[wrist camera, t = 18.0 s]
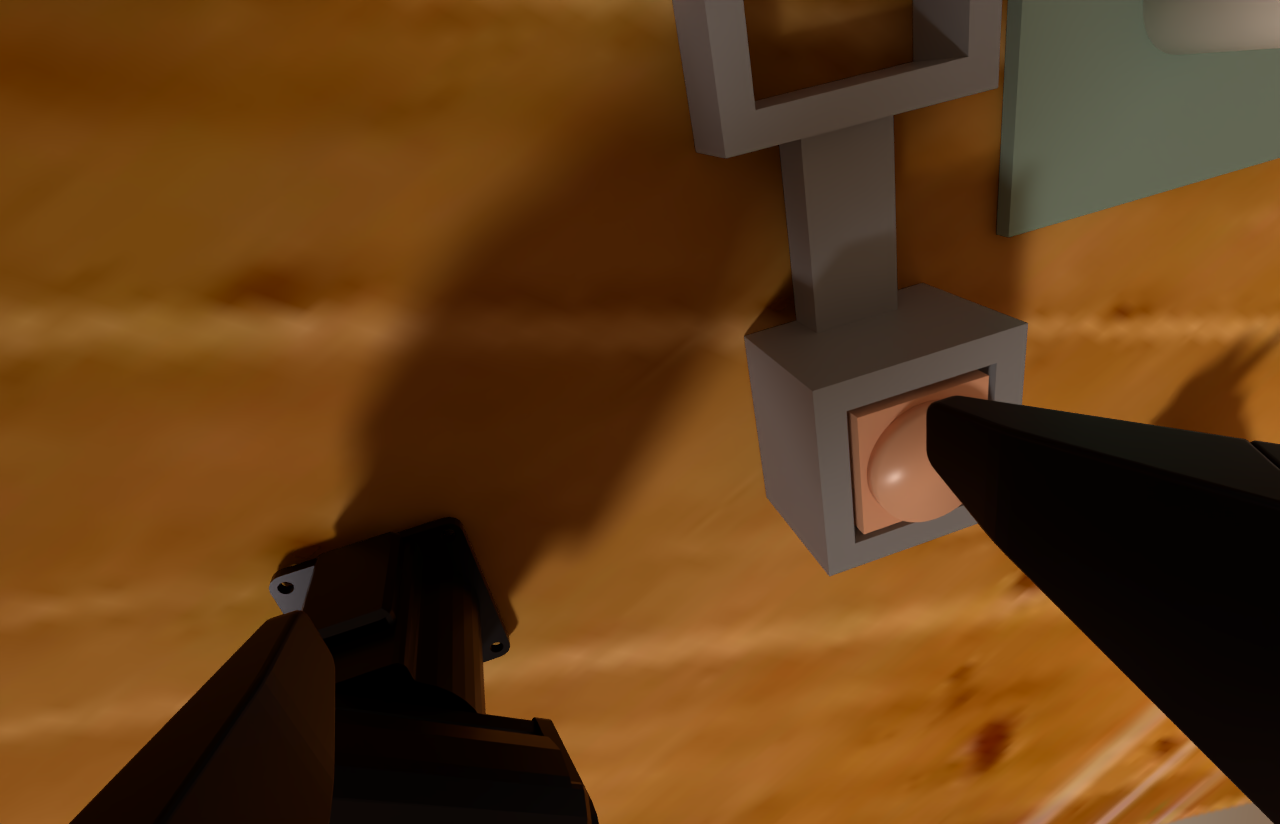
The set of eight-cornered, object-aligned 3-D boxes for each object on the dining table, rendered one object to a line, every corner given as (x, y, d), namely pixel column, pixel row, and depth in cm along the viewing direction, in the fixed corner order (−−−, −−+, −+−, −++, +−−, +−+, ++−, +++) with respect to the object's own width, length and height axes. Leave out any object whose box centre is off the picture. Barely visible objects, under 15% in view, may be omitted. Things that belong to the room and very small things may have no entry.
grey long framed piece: (938, 439, 27) (1031, 504, 23) (750, 502, 26) (810, 583, 22) (944, -262, 17) (1113, -386, 13) (640, -207, 16) (710, -323, 12)
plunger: (895, 427, 26) (996, 502, 21) (794, 461, 26) (874, 545, 21) (892, 326, 24) (1003, 382, 19) (783, 359, 24) (868, 427, 19)
